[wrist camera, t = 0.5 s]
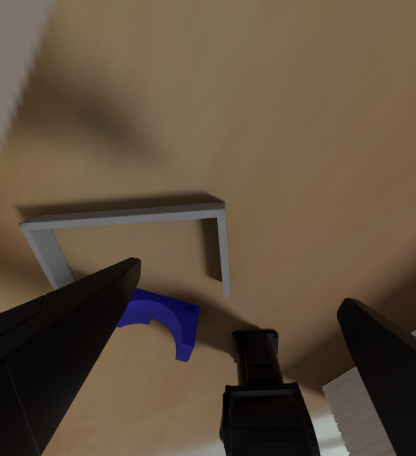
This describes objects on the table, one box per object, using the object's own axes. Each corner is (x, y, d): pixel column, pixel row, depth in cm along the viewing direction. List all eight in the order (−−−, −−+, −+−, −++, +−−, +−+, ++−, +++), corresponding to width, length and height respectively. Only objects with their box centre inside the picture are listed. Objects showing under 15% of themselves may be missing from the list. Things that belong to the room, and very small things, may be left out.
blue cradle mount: (112, 304, 29) (86, 343, 23) (115, 281, 27) (87, 317, 21) (191, 326, 29) (184, 369, 24) (199, 305, 27) (194, 346, 22)
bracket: (229, 282, 25) (230, 296, 23) (72, 288, 27) (59, 301, 25) (224, 201, 21) (224, 209, 19) (38, 215, 23) (18, 223, 21)
